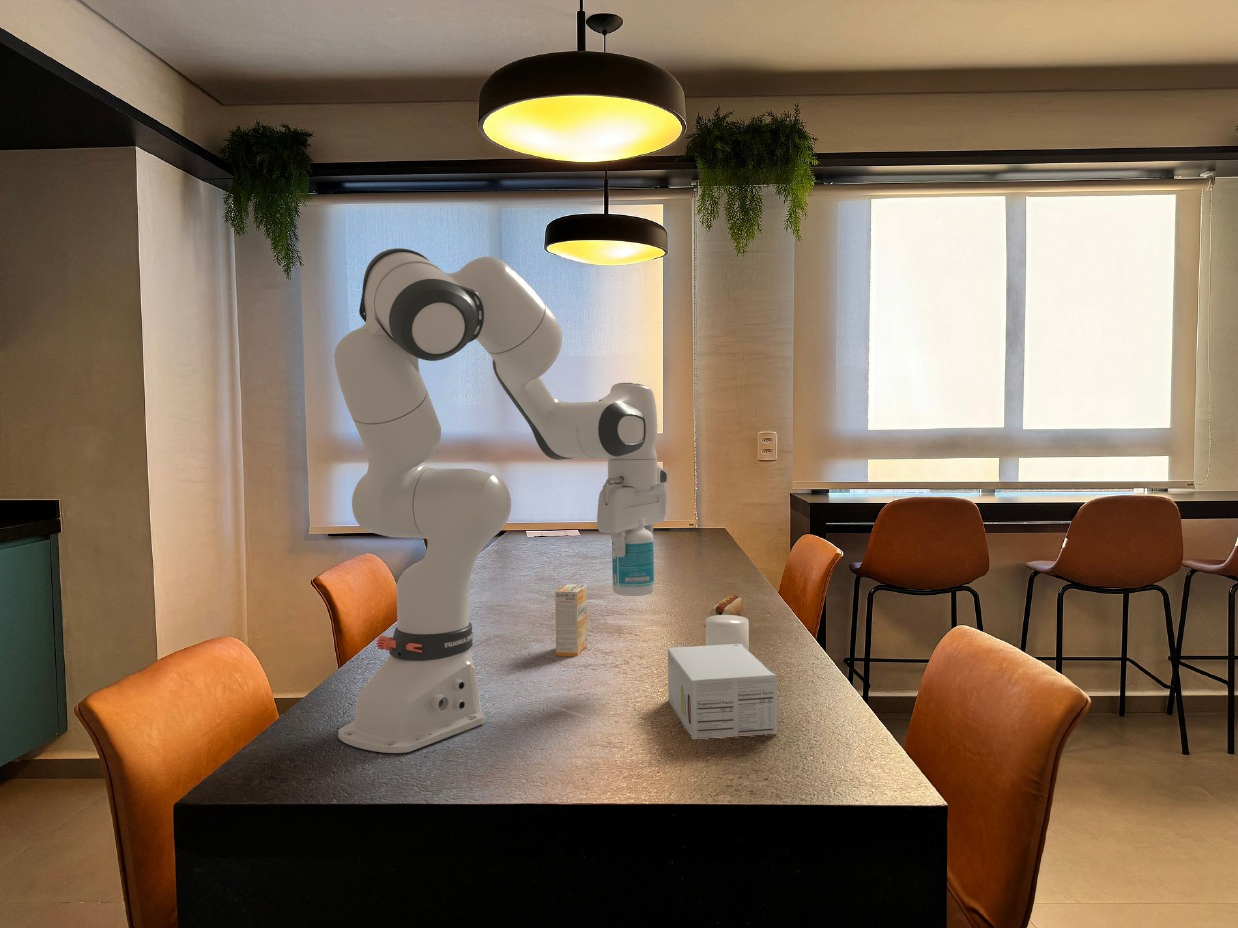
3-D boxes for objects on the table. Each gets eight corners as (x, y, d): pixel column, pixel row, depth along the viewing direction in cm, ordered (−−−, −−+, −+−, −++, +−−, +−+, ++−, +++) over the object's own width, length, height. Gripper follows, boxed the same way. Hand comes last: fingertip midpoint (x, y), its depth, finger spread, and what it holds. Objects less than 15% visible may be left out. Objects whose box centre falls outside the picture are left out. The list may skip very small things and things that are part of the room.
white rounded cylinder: (740, 675, 144) (740, 627, 143) (699, 669, 148) (699, 622, 147) (754, 664, 151) (754, 617, 150) (715, 658, 155) (715, 613, 154)
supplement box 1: (578, 657, 156) (577, 592, 156) (555, 656, 157) (554, 591, 157) (588, 646, 164) (587, 583, 164) (566, 645, 165) (565, 583, 165)
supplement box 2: (666, 702, 131) (666, 646, 130) (743, 697, 133) (742, 642, 132) (691, 742, 114) (690, 678, 114) (778, 736, 116) (778, 673, 116)
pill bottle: (662, 592, 141) (662, 517, 140) (634, 599, 136) (633, 520, 135) (632, 587, 146) (631, 514, 146) (604, 593, 141) (602, 518, 140)
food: (730, 626, 180) (730, 605, 180) (707, 624, 182) (707, 603, 182) (746, 613, 193) (746, 593, 192) (724, 611, 195) (724, 591, 195)
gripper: (620, 478, 129) (621, 562, 130) (672, 473, 147) (672, 546, 148) (587, 478, 132) (588, 559, 133) (642, 472, 150) (642, 544, 151)
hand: (633, 552), depth 141 cm, fingers closed on pill bottle, 7 cm apart
